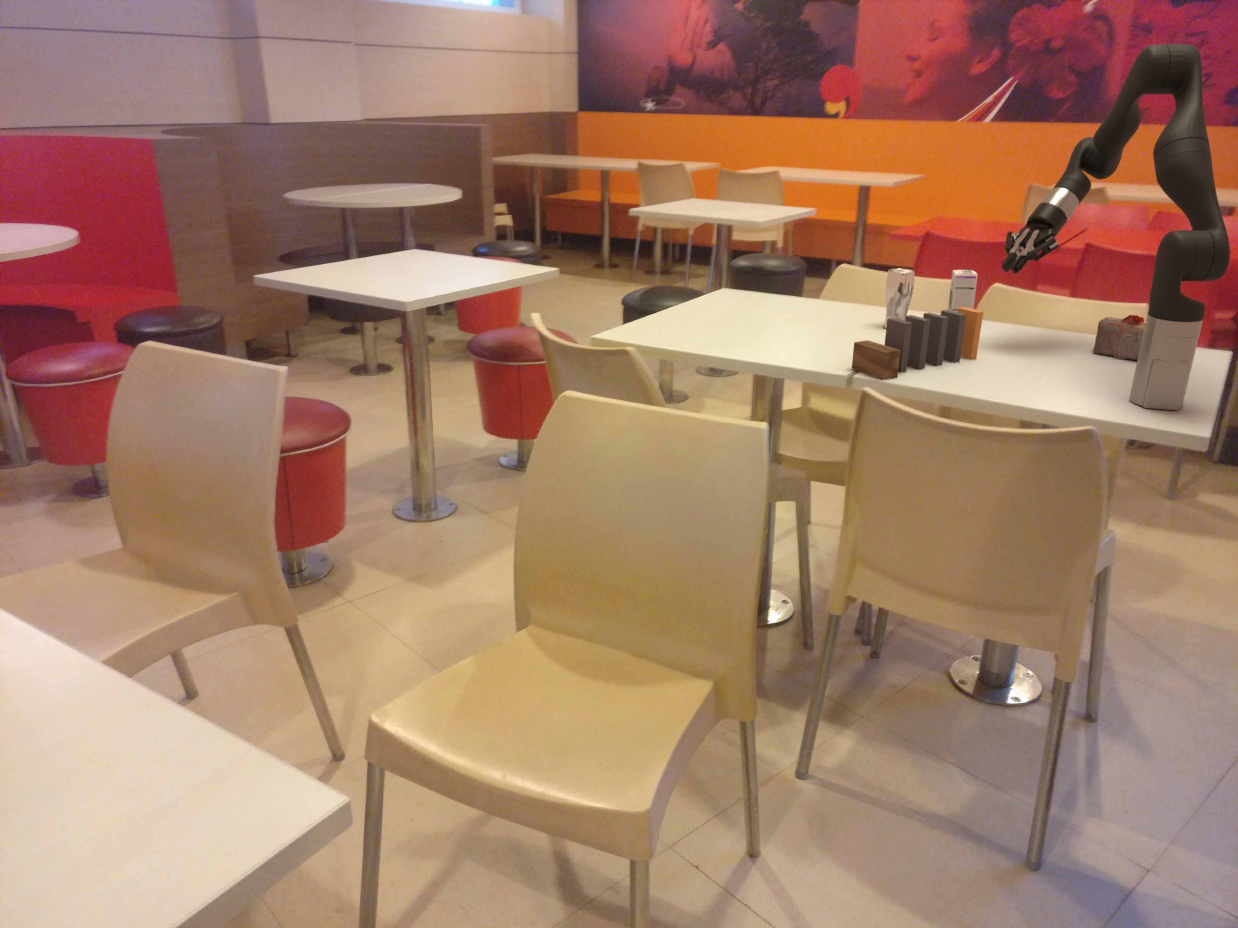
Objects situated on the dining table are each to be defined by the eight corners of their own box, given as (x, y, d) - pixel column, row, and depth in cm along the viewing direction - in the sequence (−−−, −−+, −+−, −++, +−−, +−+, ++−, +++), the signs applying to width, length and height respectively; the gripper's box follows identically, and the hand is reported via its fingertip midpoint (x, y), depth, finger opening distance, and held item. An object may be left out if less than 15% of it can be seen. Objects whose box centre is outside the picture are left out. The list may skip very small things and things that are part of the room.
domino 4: (940, 356, 211) (946, 309, 206) (959, 361, 206) (966, 314, 202) (935, 357, 210) (941, 310, 206) (953, 362, 205) (960, 315, 201)
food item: (1162, 358, 208) (1171, 316, 204) (1152, 365, 203) (1162, 322, 199) (1099, 348, 217) (1107, 308, 213) (1088, 355, 211) (1096, 313, 208)
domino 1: (888, 365, 203) (893, 317, 199) (906, 371, 199) (912, 322, 195) (882, 366, 202) (887, 318, 198) (900, 372, 198) (906, 323, 194)
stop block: (865, 366, 203) (867, 340, 201) (897, 377, 195) (900, 350, 193) (851, 368, 201) (854, 342, 199) (883, 379, 193) (886, 352, 191)
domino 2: (906, 362, 206) (911, 315, 202) (924, 368, 201) (930, 320, 197) (900, 363, 205) (905, 316, 201) (918, 369, 200) (924, 321, 196)
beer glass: (878, 329, 236) (884, 271, 230) (884, 323, 241) (890, 267, 236) (905, 332, 233) (912, 274, 227) (911, 326, 238) (917, 269, 233)
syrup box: (971, 329, 235) (979, 273, 229) (947, 328, 236) (955, 273, 231) (968, 324, 240) (975, 270, 235) (944, 323, 241) (952, 269, 236)
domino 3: (923, 359, 208) (929, 312, 204) (942, 365, 204) (948, 317, 199) (917, 360, 207) (923, 313, 203) (936, 366, 203) (942, 318, 199)
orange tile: (957, 353, 213) (963, 307, 209) (976, 358, 209) (983, 311, 204) (952, 354, 212) (958, 308, 208) (970, 359, 208) (977, 312, 204)
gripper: (1022, 199, 212) (978, 255, 211) (1074, 204, 201) (1028, 264, 200) (1033, 220, 217) (990, 276, 216) (1085, 227, 205) (1039, 285, 205)
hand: (1008, 270), depth 208 cm, fingers closed
